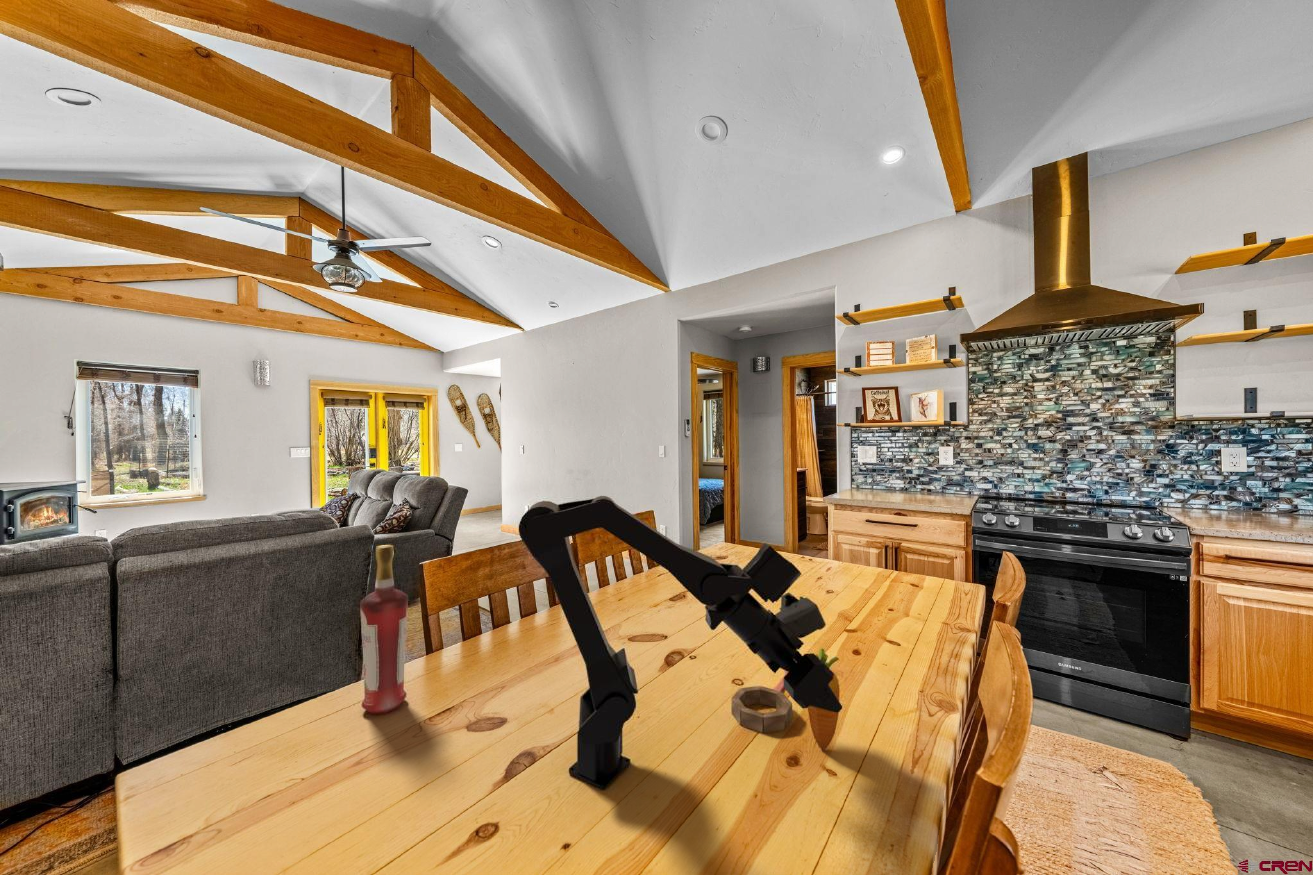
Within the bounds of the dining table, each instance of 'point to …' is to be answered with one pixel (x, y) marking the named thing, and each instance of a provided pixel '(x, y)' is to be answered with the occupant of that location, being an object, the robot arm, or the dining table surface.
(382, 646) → the liquor
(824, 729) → the carrot
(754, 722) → the bead ring
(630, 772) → the dining table surface
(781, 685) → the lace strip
